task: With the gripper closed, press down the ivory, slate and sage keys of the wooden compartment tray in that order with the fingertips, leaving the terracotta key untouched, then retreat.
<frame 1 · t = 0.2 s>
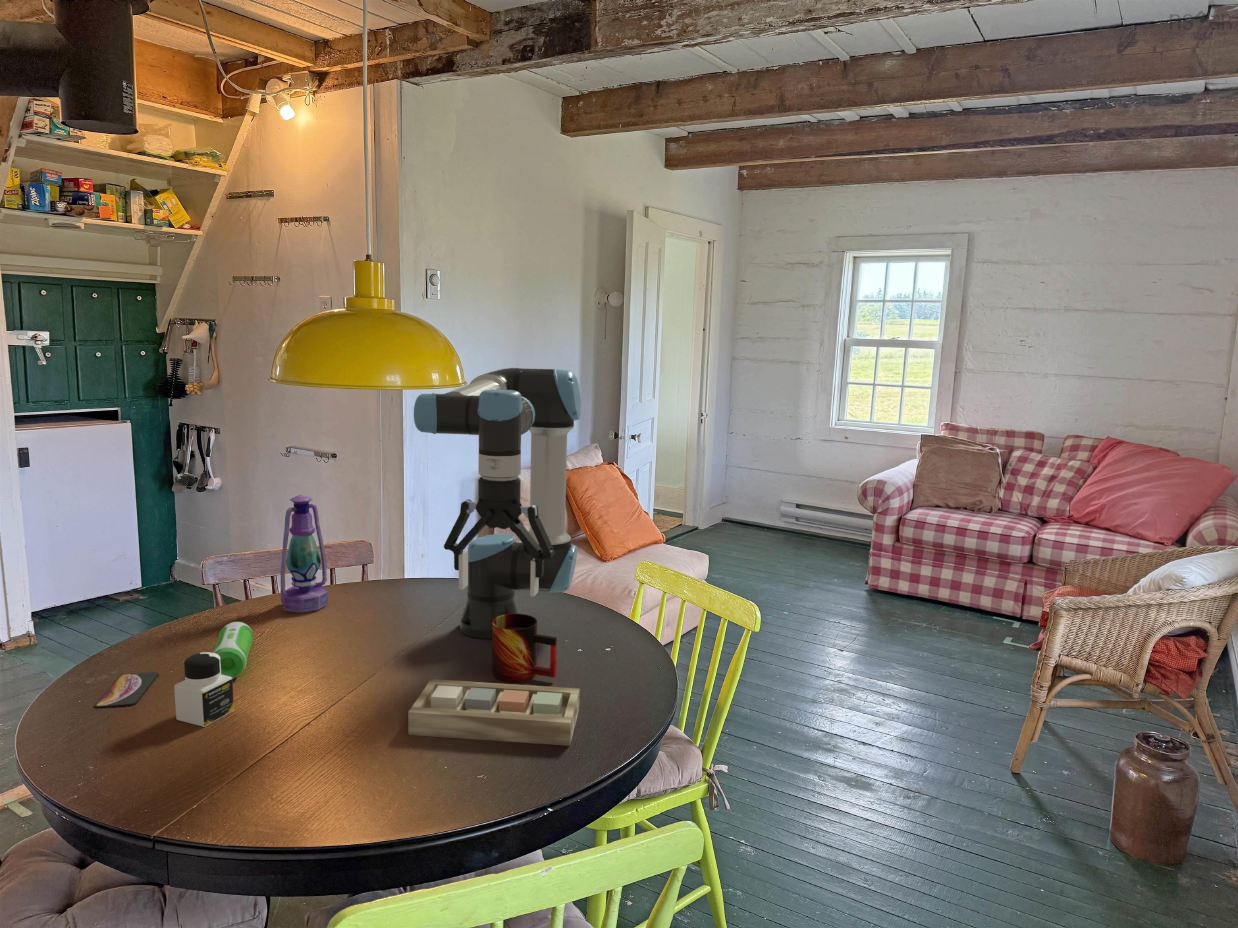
hand: (498, 590, 149), 27 cm above the table, fingers open, 13 cm apart
key terracotta: (514, 700, 154), point 4 cm above the table, slide at 0.0 cm
smartphone: (128, 692, 163), on the table
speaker: (232, 666, 176), on the table
wooden compartment tray: (497, 721, 155), on the table
key ivory: (447, 696, 155), point 4 cm above the table, slide at 0.0 cm
mug: (523, 674, 177), on the table
medicine bottle: (205, 716, 154), on the table
key slate: (480, 698, 155), point 4 cm above the table, slide at 0.0 cm
key sage: (547, 702, 154), point 4 cm above the table, slide at 0.0 cm
lantern: (305, 607, 213), on the table
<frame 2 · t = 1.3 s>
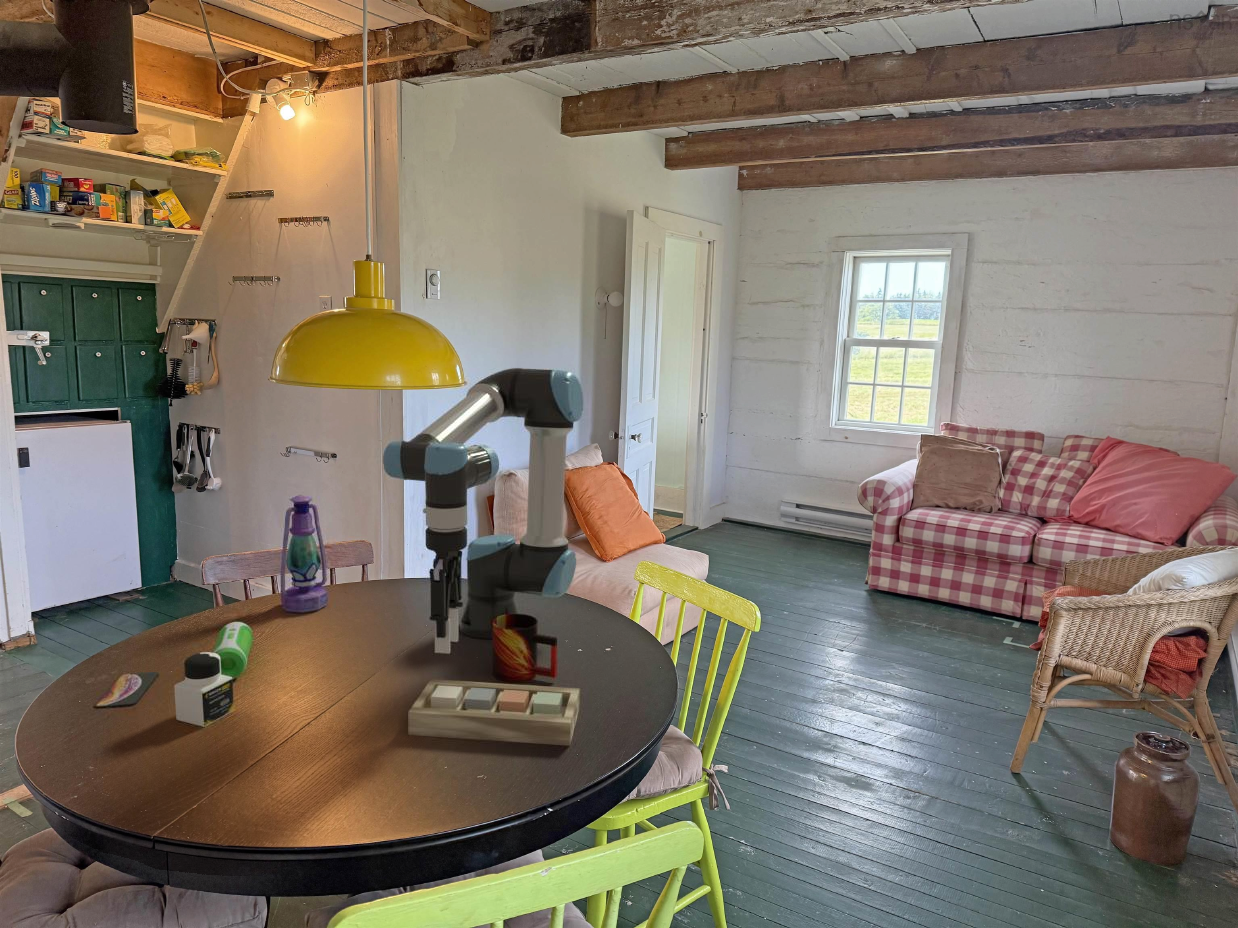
hand: (446, 645, 154), 15 cm above the table, fingers open, 5 cm apart
nothing on the table moved.
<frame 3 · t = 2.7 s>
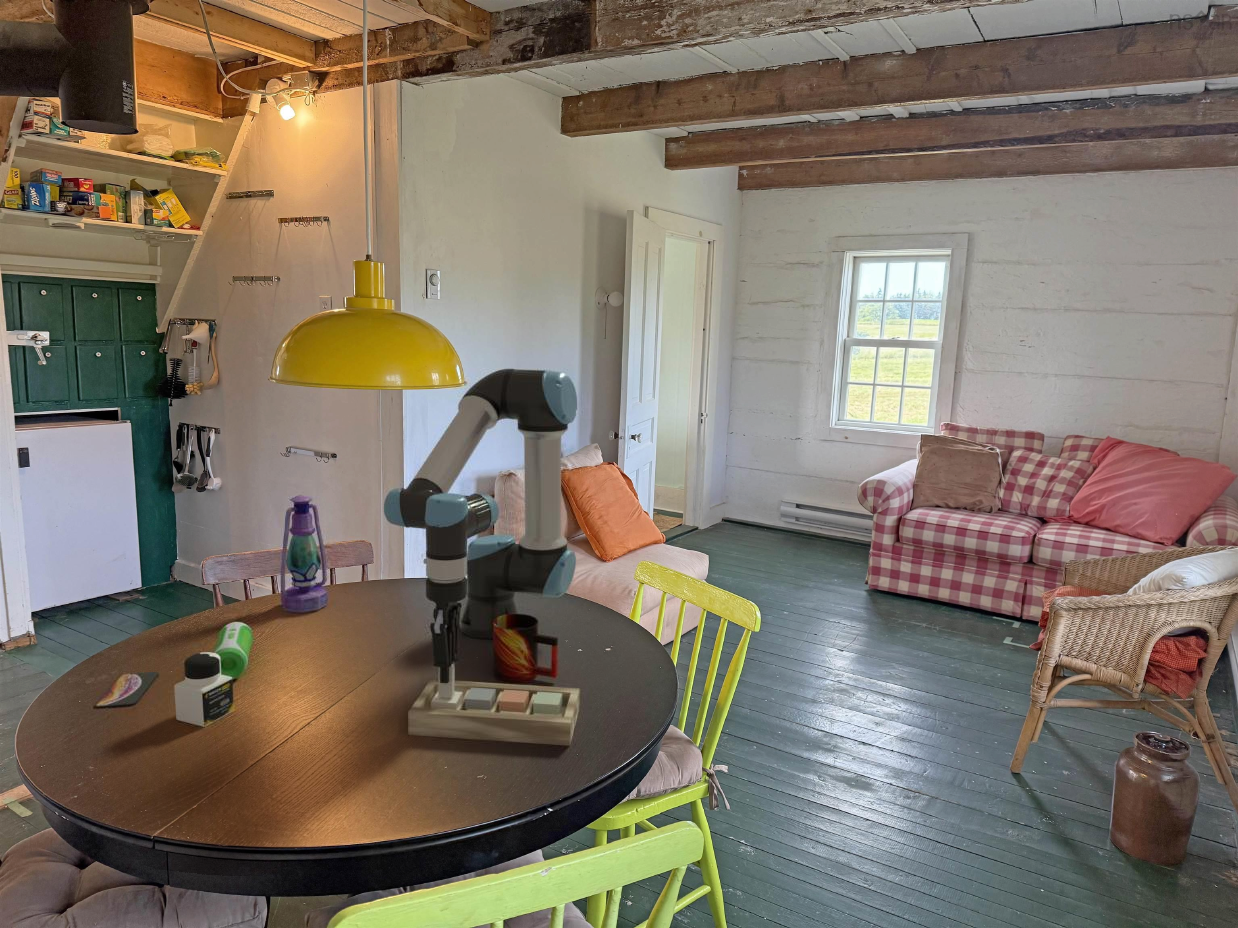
hand: (446, 695, 155), 5 cm above the table, fingers closed
key ivory: (447, 701, 155), point 3 cm above the table, slide at 1.0 cm, touching gripper
everything else where it was.
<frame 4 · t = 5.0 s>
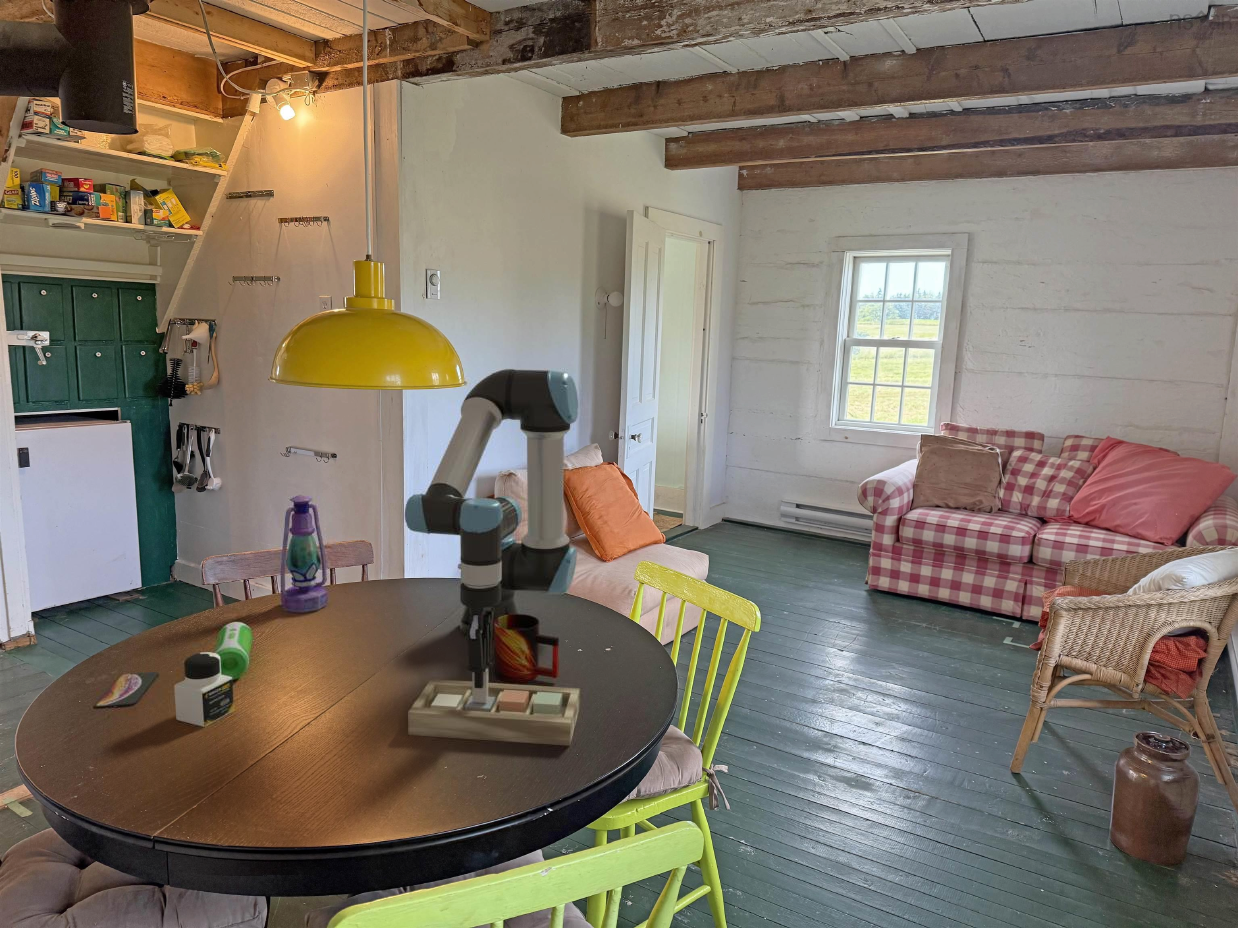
hand: (480, 700, 155), 4 cm above the table, fingers closed
key ivory: (447, 704, 156), point 3 cm above the table, slide at 1.7 cm
key slate: (480, 706, 155), point 3 cm above the table, slide at 1.6 cm, touching gripper
everything else where it was.
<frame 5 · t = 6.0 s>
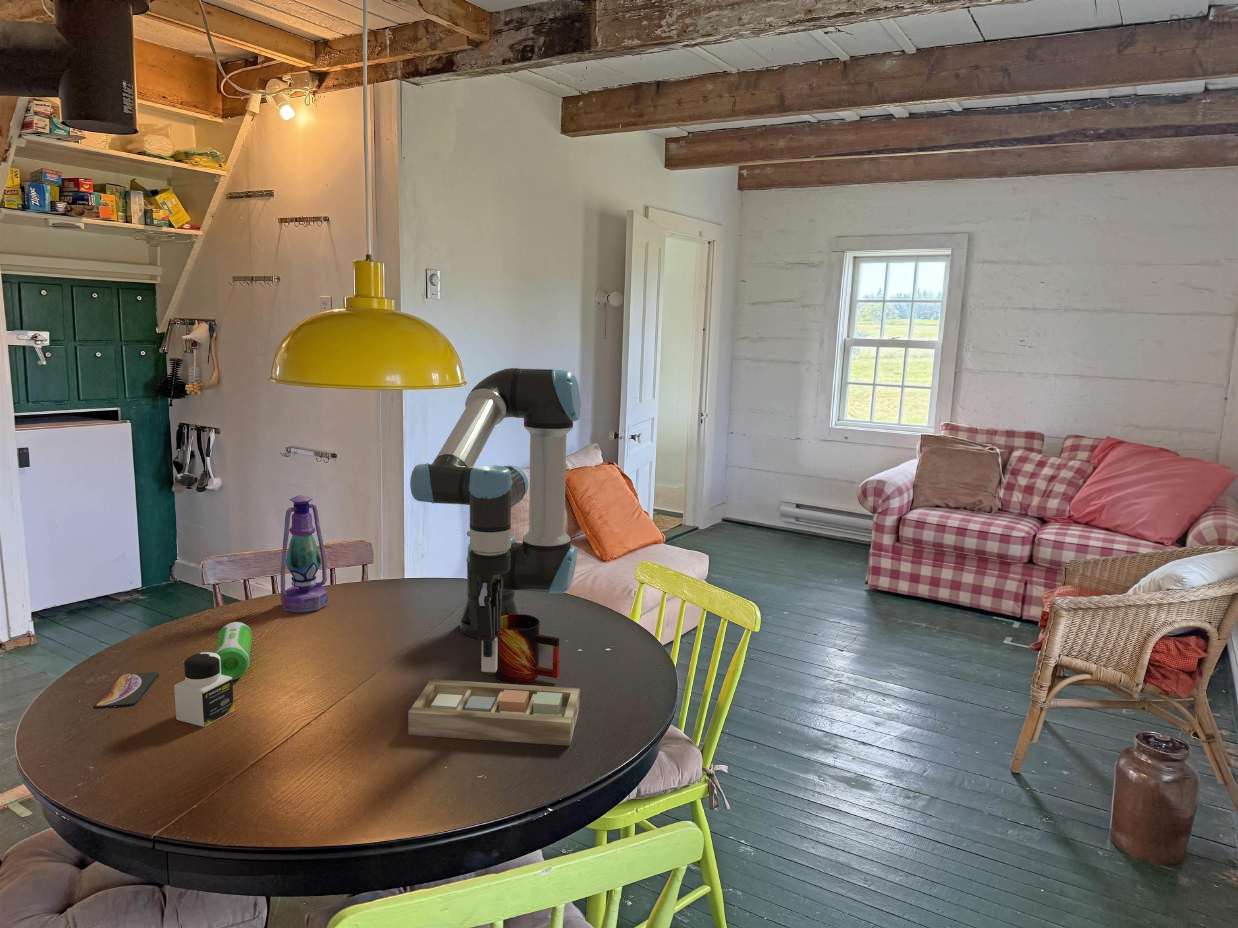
hand: (489, 670, 154), 10 cm above the table, fingers closed
key slate: (480, 706, 155), point 3 cm above the table, slide at 1.7 cm
everything else where it was.
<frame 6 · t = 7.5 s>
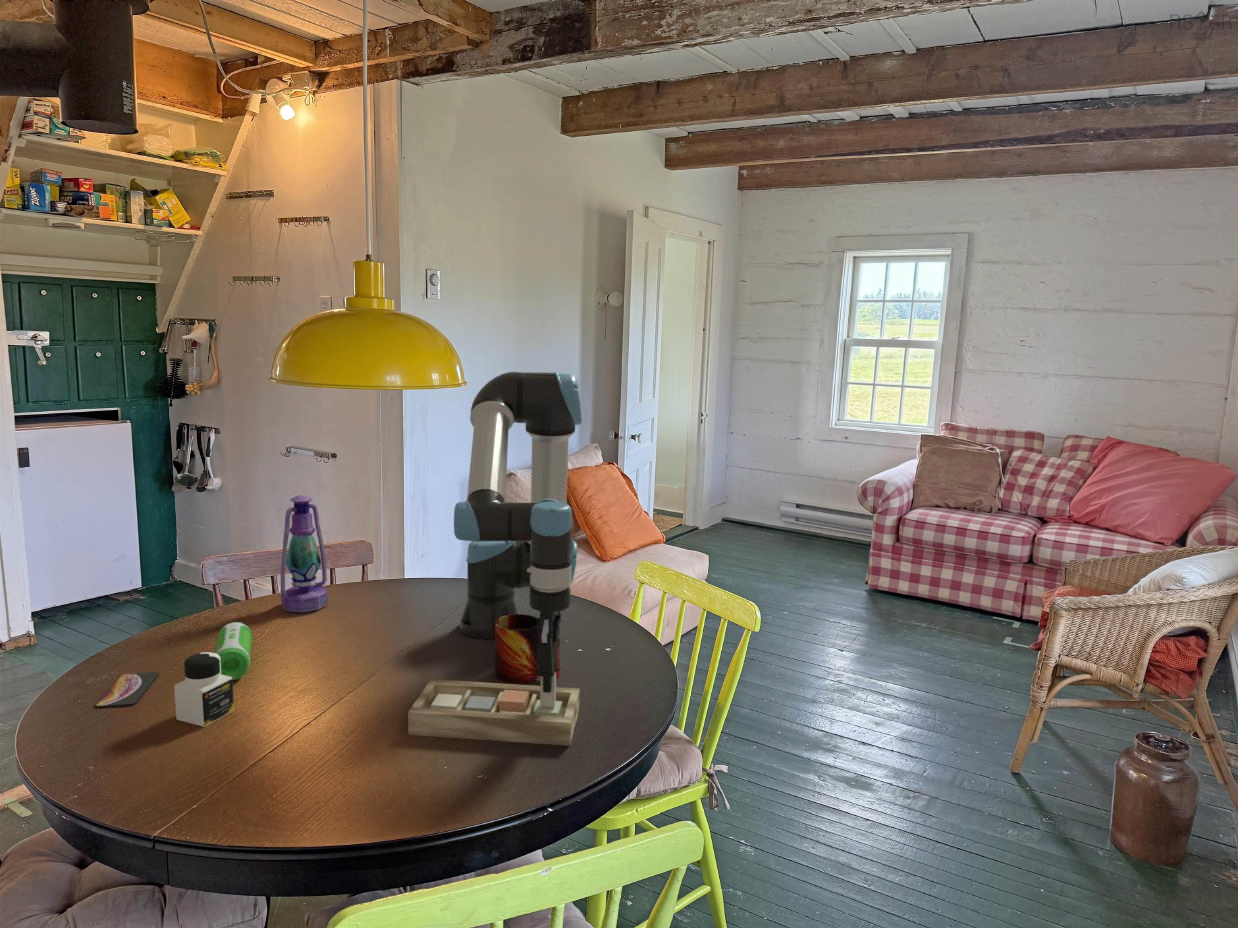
hand: (547, 704, 154), 4 cm above the table, fingers closed
key sage: (547, 711, 154), point 3 cm above the table, slide at 1.6 cm, touching gripper
everything else where it was.
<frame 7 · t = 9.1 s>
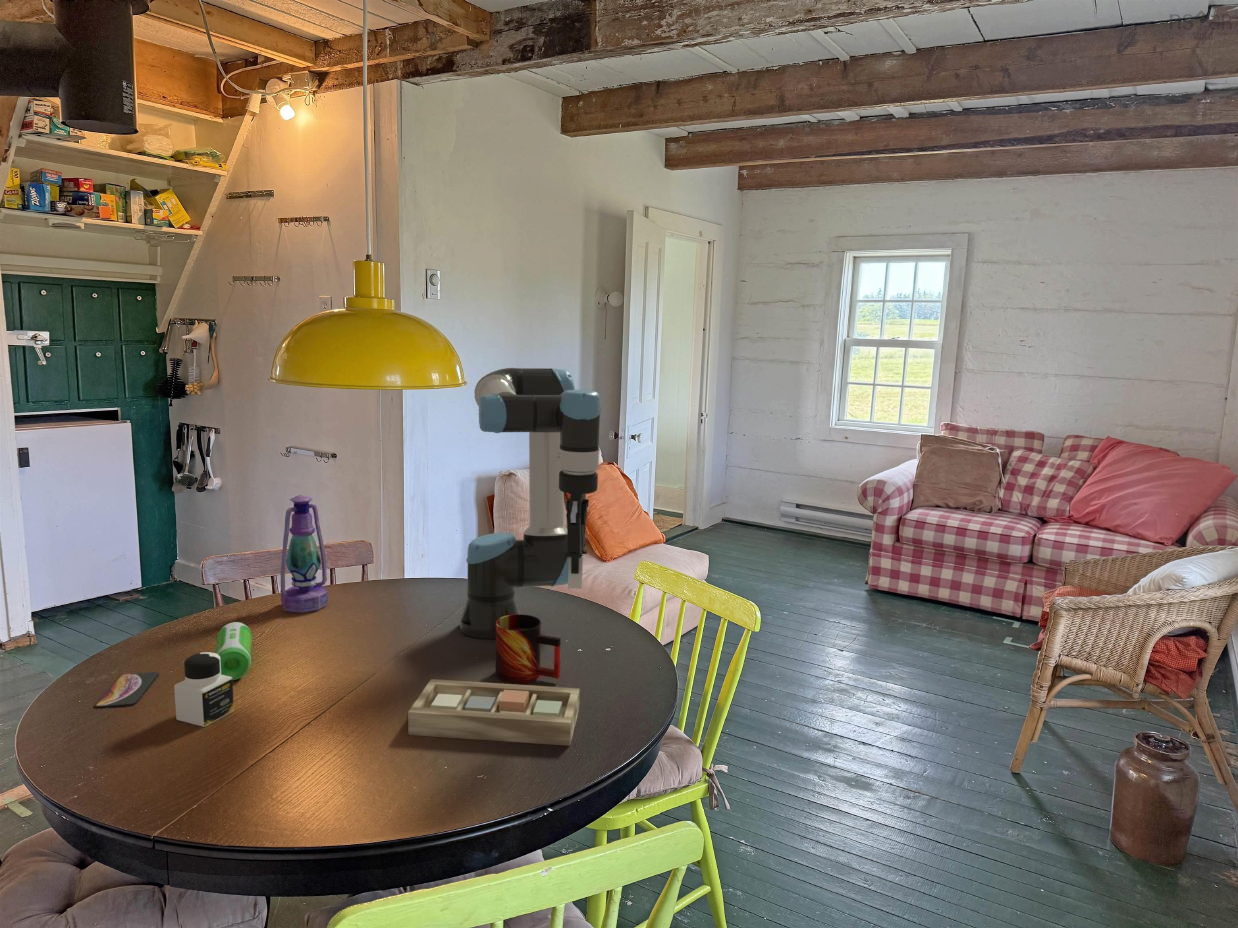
hand: (575, 586, 161), 24 cm above the table, fingers closed
key sage: (547, 711, 154), point 3 cm above the table, slide at 1.7 cm
everything else where it was.
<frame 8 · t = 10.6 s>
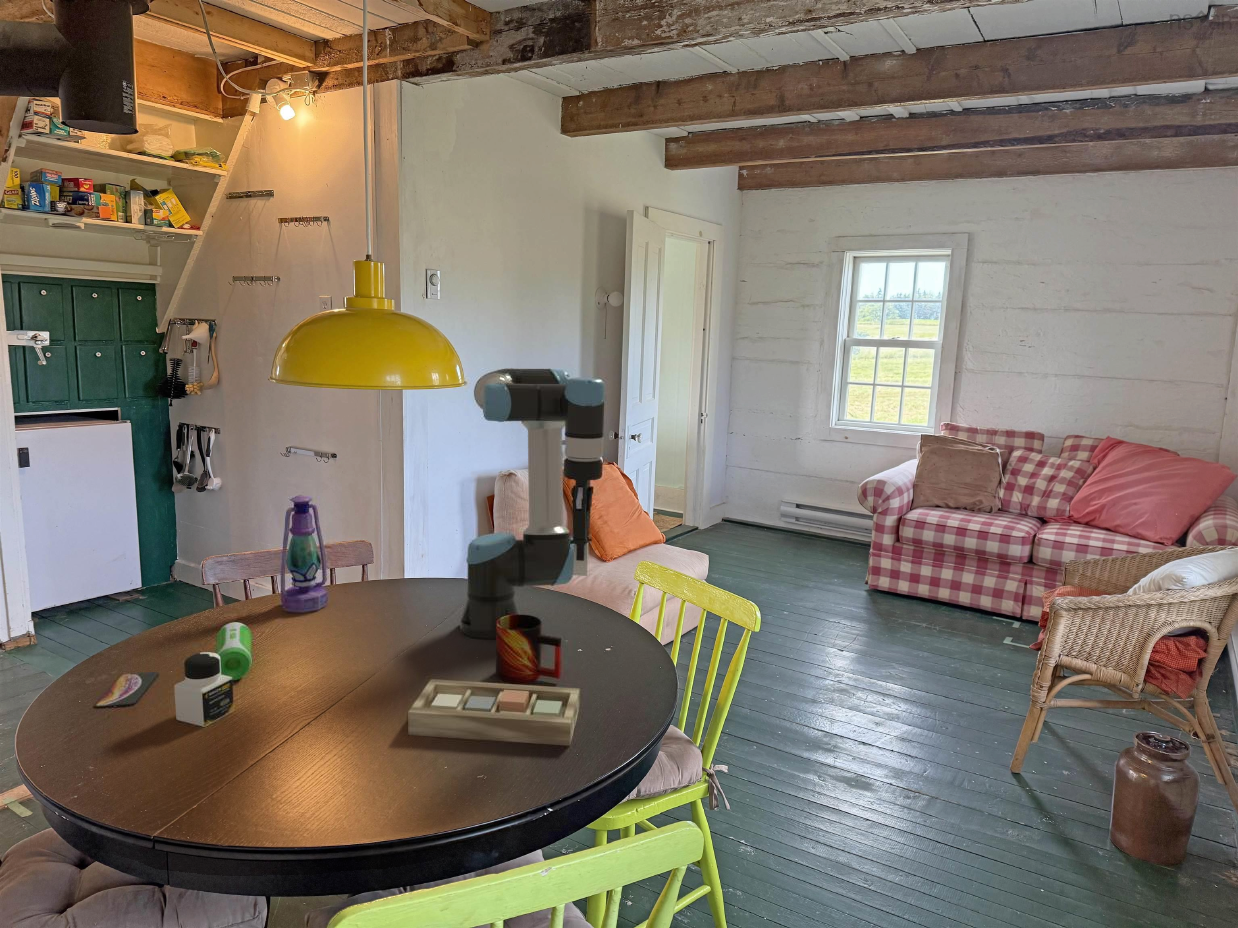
hand: (580, 574, 162), 26 cm above the table, fingers closed
at the end: key ivory slide at 1.7 cm; key sage slide at 1.7 cm; key terracotta slide at 0.0 cm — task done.
